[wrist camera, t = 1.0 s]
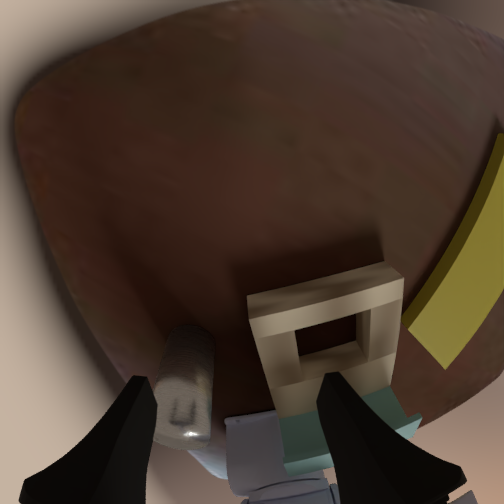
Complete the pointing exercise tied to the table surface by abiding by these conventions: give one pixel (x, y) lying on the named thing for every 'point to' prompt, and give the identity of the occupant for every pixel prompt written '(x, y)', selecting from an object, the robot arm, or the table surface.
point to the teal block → (313, 440)
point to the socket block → (319, 311)
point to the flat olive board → (464, 272)
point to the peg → (185, 389)
